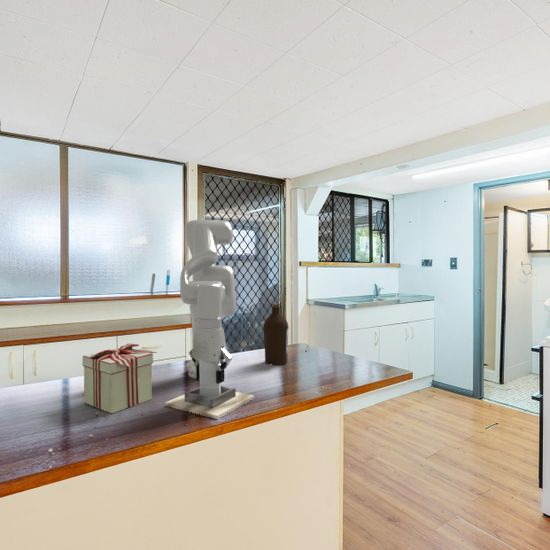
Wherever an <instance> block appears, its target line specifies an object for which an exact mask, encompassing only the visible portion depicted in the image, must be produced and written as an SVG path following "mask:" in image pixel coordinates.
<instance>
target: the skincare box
mask: <svg viewBox="0 0 550 550" xmlns="http://www.w3.org/2000/svg"><path fill="white" fill-rule="evenodd" d="M219 363H220V362H219ZM220 364H221V363H220ZM217 370H218V369H217V367H216V364H215V363H211V362H205V361H203V360H201V359H199V375H200V379H199V387H200V395H201V396H205V397H210V398H214V397H216V396H218V395H220V394H221V386H222V385H221V383H222V382H221V383H219V384H217V383H216V371H217Z"/></svg>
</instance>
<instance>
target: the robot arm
mask: <svg viewBox="0 0 550 550" xmlns="http://www.w3.org/2000/svg"><path fill="white" fill-rule="evenodd" d="M184 225H185V226H184V235H185V240H186V241H185V242H186V245H187V247H188V248H189V249H188V250H189V251H190V255H191V258H190V259H189V260H188V261H187V262H186V263H185V264H184V266H183V267H182V270H181V272H180V277H179V278H180V279H179V280H180V281H179V282H180V283H179V286H180V288H179V291H180V292H179V293H180V298H181V299H180V300H181V301H182V303H184V304H185V305H189V311H190V317H191V328H192V329H191V333H192V334H191V335H192V336H191V337H192V348H191V349H190V350H189V352H188V354H189V356H190V358H191V360H188V362H187V363H186V364H185V366H186V367H187V368H190V370H189V372H188V376H189V377H190V378H191V379H195V380H197V381H200V375H199V359H201V360H203V361H205V362H211V363H215V364H216V367H217V369H218V370H217V371H216V383H217V384H219V383H224V382H225V370H226V369H227V367H228V366H229V365H230V363H231V362H232V360H233V357H232V355H230V353H229V352H228V351H227V344H226V343H227V342H226V335H225V331H224V327H223V322H222V321H223V317H230V316H231V317H232V316H233V315H235V313H236V310H237V299H236V298H237V297H236V295H237V294H236V285H235V274H234V270H233V268H232V267H231V266H229V265H225V264H223V265H222V264H217V265H216V263H217V261H218V259H219V254H218V253H219V252H218V246H219V245H221V246H223V245H224V246H225V245H230V244H232V242H233V238H234V231H233V226H232V225H231V223H230V222H229V221H227V220H225V219H221V220H219V219H194V220H192V219H191V220H190V221H187V222H186V223H185V224H184ZM191 276H192V280H190V278H191ZM219 362H220V363H219Z"/></svg>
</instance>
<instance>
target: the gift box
mask: <svg viewBox="0 0 550 550" xmlns="http://www.w3.org/2000/svg"><path fill="white" fill-rule="evenodd" d="M139 346H140V344H137V343H127V344H125V345H121V346H120V347H118V348H114V349H104V350H102V351H99V352H93V353H90V354H86V355H85V354H84V355H82V360H81V361H82V366H83V392H84V393H83V397H84V399H83V401H84V402H85V403H84V404H86V403H87V404H86V405H88V404H90V405H92V406H91V407H93V406H94V407H93V408H95V407H96V409H98V408H99V409H98V410H100V409H102V410H101V411H103V410H104V411H103V412H105V411H107V412H106V413H108V412H109V413H108V414H110V413H112V414H115V413H118V412H121V411H124V410H126V409H125V408H127V409H129V408H132V407H134V405H135V406H138V405H140V404H143V403H146V402H148V401H150V400H151V401H152V397H153V395H152V394H153V391H152V389H153V388H152V387H153V385H152V383H153V382H152V379H153V378H152V377H153V374H152V372H153V370H152V369H153V368H152V366H153V365H152V364H154V354H155V353H157V351H151V350H148V349H135V347H139ZM145 401H146V402H145ZM142 402H143V403H142ZM139 403H140V404H139ZM137 404H138V405H137ZM90 405H89V406H90ZM131 406H132V407H131ZM123 409H124V410H123ZM120 410H121V411H120ZM117 411H118V412H117ZM114 412H115V413H114Z"/></svg>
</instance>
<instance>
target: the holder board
mask: <svg viewBox="0 0 550 550" xmlns="http://www.w3.org/2000/svg"><path fill="white" fill-rule="evenodd" d="M236 390H237V389H236V388H233V387H230V386H224V385H221V394H220V395H218V396H216V397H214V398H210V397H205V396H201V395H200V386H198V387H195V388H193V389H192V390H189V391H187V392H184V394H182V395H179V396H177V397H175V398H173V399H171V400H168V401H166V402H165V407H169V408H173V409H177V410H180V411H185V412H187V411H188V413H191V412H192V414H195V413H196V415H199V414H200V415H199V416H202V417H207V418H210V417H211V418H212V419H214V420H219V419H221V418H222V416H223V417H224V416H226V415H228V414H230V413H231V412H233V411H235V410H237V409H239V408H241V407H242V406H243V404H244V405H245V404H247V403H248V402H251V401H252V400H254V399H255V396H254V395H253V394H249V393H243V392H240V391H236ZM250 400H251V401H250ZM241 405H242V406H241ZM236 408H237V409H236ZM229 412H230V413H229ZM227 413H228V414H227ZM220 417H221V418H220ZM211 418H210V419H211Z"/></svg>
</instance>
